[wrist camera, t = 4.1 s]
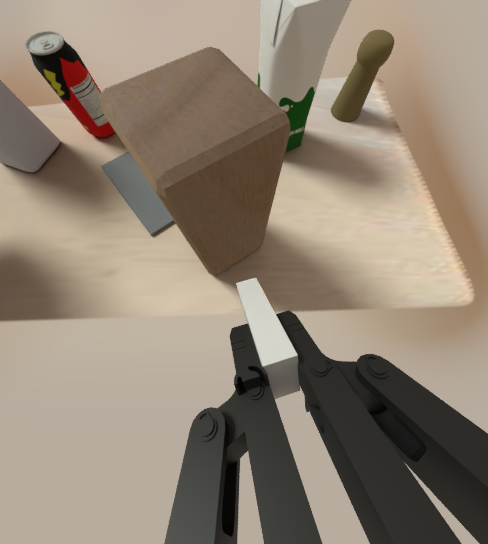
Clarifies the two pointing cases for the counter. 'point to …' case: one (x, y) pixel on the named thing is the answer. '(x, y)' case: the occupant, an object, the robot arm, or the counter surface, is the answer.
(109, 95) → the block
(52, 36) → the beverage can
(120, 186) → the mat
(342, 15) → the milk carton
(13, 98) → the soap bottle
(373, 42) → the olive peg figure
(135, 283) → the counter surface
